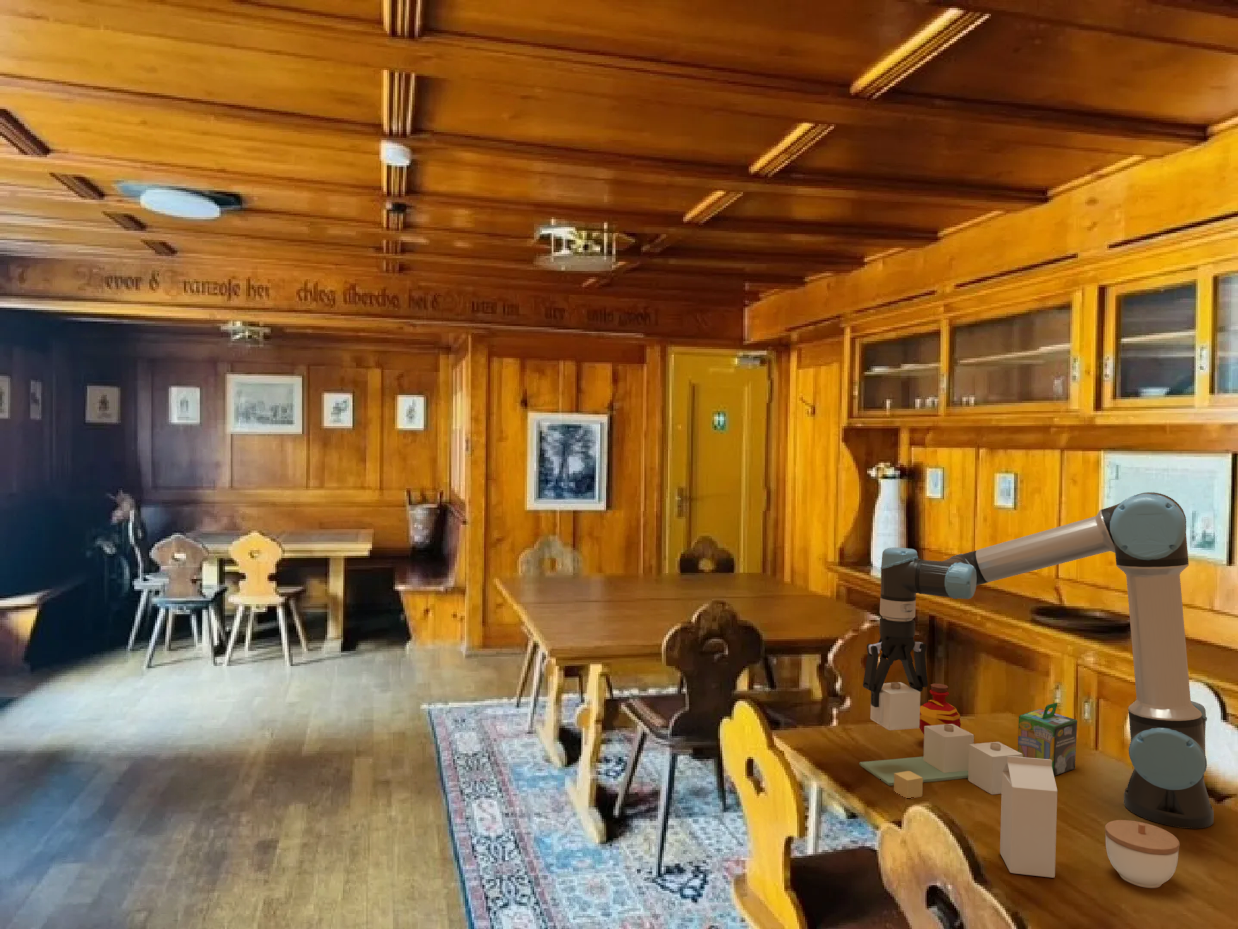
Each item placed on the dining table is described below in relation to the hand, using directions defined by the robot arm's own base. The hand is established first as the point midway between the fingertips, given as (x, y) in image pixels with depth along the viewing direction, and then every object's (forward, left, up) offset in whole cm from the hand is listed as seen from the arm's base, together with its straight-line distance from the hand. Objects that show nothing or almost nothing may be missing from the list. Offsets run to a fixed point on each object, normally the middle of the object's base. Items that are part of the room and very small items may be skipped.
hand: (894, 719), depth 186 cm
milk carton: (-42, +1, -12) cm, 44 cm away
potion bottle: (+12, -20, -12) cm, 26 cm away
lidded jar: (-50, -15, -12) cm, 54 cm away
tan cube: (-11, +3, -12) cm, 17 cm away
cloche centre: (0, -14, -11) cm, 18 cm away
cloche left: (0, 0, -1) cm, 1 cm away
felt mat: (0, -7, -12) cm, 14 cm away
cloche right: (-11, -18, -12) cm, 24 cm away
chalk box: (-4, -37, -12) cm, 39 cm away
